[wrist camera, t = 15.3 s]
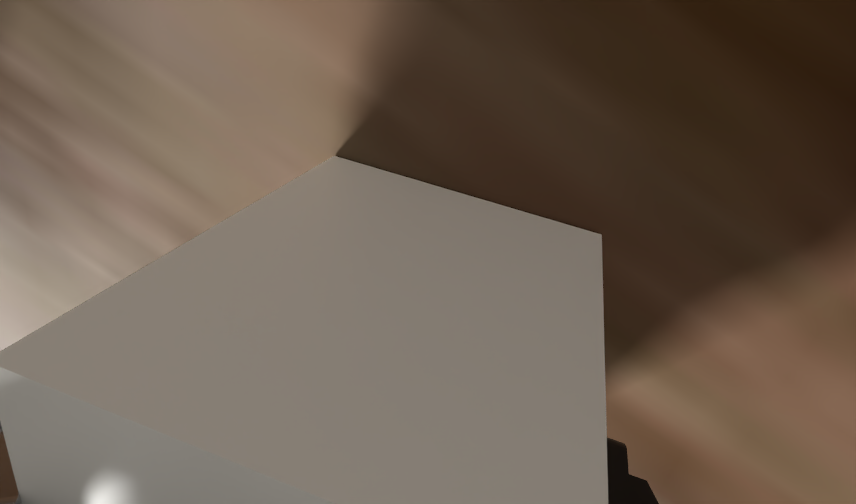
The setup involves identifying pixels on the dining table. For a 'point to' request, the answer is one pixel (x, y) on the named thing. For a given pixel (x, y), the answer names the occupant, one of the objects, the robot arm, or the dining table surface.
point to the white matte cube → (327, 360)
